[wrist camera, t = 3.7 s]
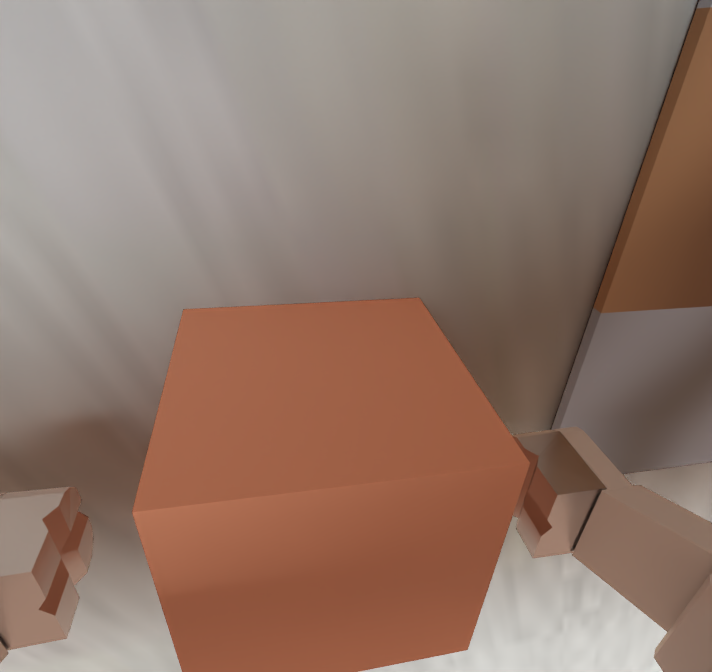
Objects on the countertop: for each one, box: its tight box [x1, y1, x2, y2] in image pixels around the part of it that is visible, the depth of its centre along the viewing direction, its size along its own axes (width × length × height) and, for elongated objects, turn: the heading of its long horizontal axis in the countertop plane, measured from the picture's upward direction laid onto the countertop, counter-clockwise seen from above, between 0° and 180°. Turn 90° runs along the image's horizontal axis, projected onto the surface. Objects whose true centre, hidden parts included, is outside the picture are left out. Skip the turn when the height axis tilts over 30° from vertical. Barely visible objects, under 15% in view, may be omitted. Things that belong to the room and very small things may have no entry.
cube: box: [132, 298, 530, 672], centre depth 9 cm, size 5×5×5 cm
